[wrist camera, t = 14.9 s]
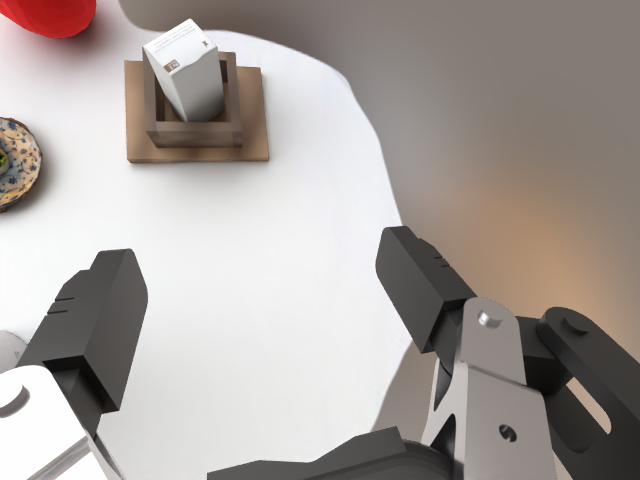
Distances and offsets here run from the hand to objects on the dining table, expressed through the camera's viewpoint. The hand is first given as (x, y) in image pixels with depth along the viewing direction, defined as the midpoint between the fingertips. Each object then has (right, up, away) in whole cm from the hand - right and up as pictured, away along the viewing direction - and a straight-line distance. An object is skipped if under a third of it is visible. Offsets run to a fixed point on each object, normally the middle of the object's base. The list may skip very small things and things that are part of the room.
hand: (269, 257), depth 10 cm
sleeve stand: (-15, +18, +33) cm, 41 cm away
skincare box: (-15, +18, +33) cm, 40 cm away
